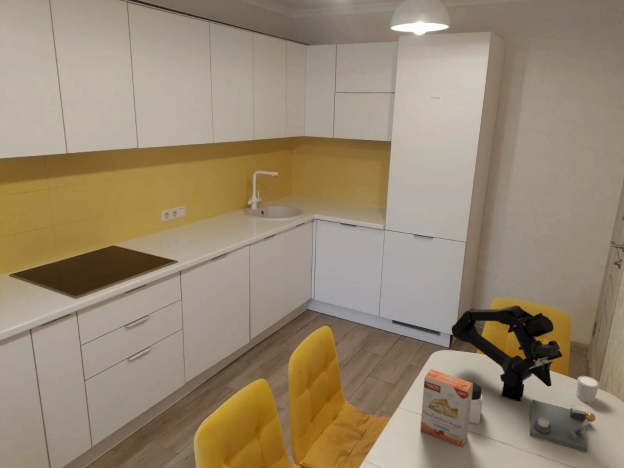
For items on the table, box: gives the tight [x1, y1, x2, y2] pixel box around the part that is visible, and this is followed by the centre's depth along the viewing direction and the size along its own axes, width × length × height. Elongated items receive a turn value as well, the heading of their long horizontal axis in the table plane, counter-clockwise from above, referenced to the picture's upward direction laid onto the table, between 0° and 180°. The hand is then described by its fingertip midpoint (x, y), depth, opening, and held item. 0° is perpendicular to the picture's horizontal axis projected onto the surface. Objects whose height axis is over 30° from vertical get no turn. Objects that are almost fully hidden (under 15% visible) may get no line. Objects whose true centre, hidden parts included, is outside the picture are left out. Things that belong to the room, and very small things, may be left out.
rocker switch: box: [571, 405, 587, 414], centre depth 152 cm, size 4×2×1 cm, turn 62°
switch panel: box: [529, 399, 588, 453], centre depth 150 cm, size 16×18×3 cm
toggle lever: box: [575, 412, 596, 435], centre depth 141 cm, size 3×3×10 cm
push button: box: [538, 418, 549, 428], centre depth 147 cm, size 3×3×1 cm
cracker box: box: [420, 368, 474, 448], centre depth 145 cm, size 14×6×21 cm, turn 56°
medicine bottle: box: [469, 381, 484, 425], centre depth 154 cm, size 7×7×12 cm
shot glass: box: [575, 375, 600, 403], centre depth 164 cm, size 7×7×7 cm
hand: (549, 386), depth 151 cm, fingers closed
